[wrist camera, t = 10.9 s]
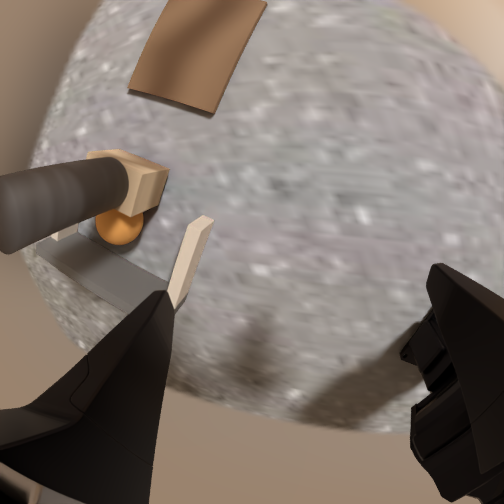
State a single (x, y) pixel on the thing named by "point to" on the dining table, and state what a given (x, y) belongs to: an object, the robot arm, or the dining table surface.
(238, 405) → the dining table surface
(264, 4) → the brown rectangular plate
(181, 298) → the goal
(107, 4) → the dining table surface
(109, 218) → the ball
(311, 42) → the dining table surface
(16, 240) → the ball
